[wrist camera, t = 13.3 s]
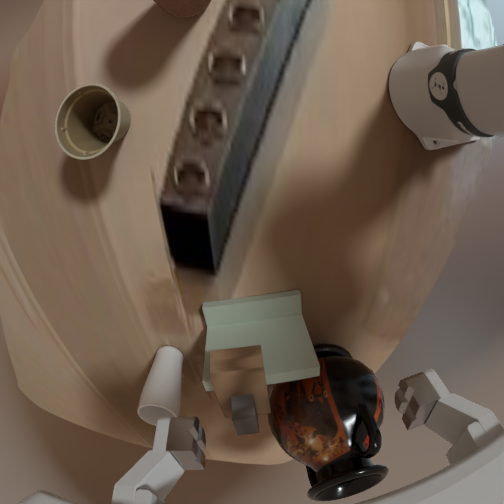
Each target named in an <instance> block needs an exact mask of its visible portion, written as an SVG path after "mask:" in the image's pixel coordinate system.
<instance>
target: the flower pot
mask: <svg viewBox="0 0 504 504" xmlns="http://www.w3.org/2000/svg"><path fill="white" fill-rule="evenodd" d="M115 105H117V108H116V107H115ZM99 112H101V115H100V117H99V119H98V120H97V117H98V114H99ZM110 120H111V121H112V122H111V123H109V121H110ZM130 122H131V117H130V112H129V110H128V108H127V107H126V106H125V105H124V104H123V103H121V102H120V101H118V99H117V97H116V96H115V94H114V93H113V92H112V91H111V90H110V89H109V88H108V87H106V86H104V85H101V84H97V83H89V84H84V85H81V86H79V87H77V88H75V89H74V90H73V91H71V92H70V93H69V94H68V95H67V96H66V97H65V99H64V100H63V102H62V103H61V105H60V107H59V109H58V112H57V115H56V120H55V134H56V139H57V142H58V144H59V146H60V147H61V149H62V150H63V151H64V152H65V153H66V154H67V155H69V156H70V157H72V158H75V159H79V160H87V159H92V158H95V157H97V156H99V155H101V154H102V153H103V152H105V151H106V150H107V149H108V148H109V147H110V146H111V144H112V143H114V142H116V141H118V140H120V139H121V138H122V137H123V136H124V135H125V134H126V133H127V131H128V129H129V126H130ZM102 135H104V136H106V137H108V139H104V138H102Z"/></svg>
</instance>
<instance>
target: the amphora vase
mask: <svg viewBox="0 0 504 504" xmlns="http://www.w3.org/2000/svg"><path fill="white" fill-rule="evenodd" d="M313 347H314V350H315V353H316V356H317V359H318V362H319V365H320V376H316V377H311V378H305V379H300V380H294V381H288V382H282V383H276V386H275V387H274V389H273V391H272V393H271V396H270V398H269V404H270V411H271V413H268V421H269V425H270V428H271V430H272V433H273V435H274V436H275V438H276V440H277V442H278V443H279V445H280V446H281V448H282V449H283V450H284V451H285V452H286V453H287V454H288V455H289V456H291V457H292V458H294V459H296V460H297V461H299V462H301V463H303V464H305V465H306V468H307V473H308V478H309V481H310V484H311V486H312V488H310V489H309V491H308V493H307V496H308V497H309V498H310V499H311V500H315V501H331V500H337V499H341V498H345V497H349V496H352V495H355V494H358V493H360V492H363V491H365V490H367V489H369V488H371V487H373V486H375V485H376V484H378V483H379V482H381V481H382V480H383V479H384V478H385V477H386V476H387V474H388V468H387V467H386V466H383V465H373V464H372V462H371V460H370V458H371V457H373V456H375V455H376V454H377V453H378V452H379V450H380V448H381V433H380V429H381V427H382V423H383V417H384V397H383V392H382V388H381V386H380V384H379V382H378V380H377V378H376V376H375V375H374V373H373V371H372V370H371V369H369V368H368V367H367V366H365V365H364V364H363V363H361V362H360V361H358V360H355V359H353V358H352V356H351V354H350V353H349V352H348V351H347V350H346V349H344V348H343V347H340V346H337V345H331V344H320V345H313Z"/></svg>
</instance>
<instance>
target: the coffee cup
mask: <svg viewBox="0 0 504 504" xmlns="http://www.w3.org/2000/svg"><path fill="white" fill-rule="evenodd" d="M153 1H155V2H156V3H157V4H158V5H159V6H160V7H161V8H162V9H163V10H164V11H166V12H167V13H169V14H171V15H173V16H176V17H182V18H183V17H191V16H194V15H197V14H199V13H201V12H202V11H204V10H205V9H206V8H207V7H208V5H209V4H210V2H211V0H153Z"/></svg>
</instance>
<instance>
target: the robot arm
mask: <svg viewBox="0 0 504 504" xmlns="http://www.w3.org/2000/svg"><path fill="white" fill-rule="evenodd" d="M389 92H390V97H391V101H392V104H393V106H394V109H395V111H396V113H397V115H398V116H399V118H400V119H401V121H402V122H403V123H404V124H405V125H406V126H407V127H408V128H409V129H410V130H411V131H412V132H414V133H415V134H416V135H417V137H418V138H419V140H420V142H421V144H422V146H423V147H424V148H425V149H426V150H435V149H439V148H444V147H448V146H452V145H457V144H461V143H466V142H470V141H475V140H479V139H480V138H481V137H492V136H494V135H495V136H500V137H504V44H503V45H499V46H495V47H491V48H486V49H481V50H474V49H457V50H456V49H453V48H449V47H448V46H447V45H436V46H427V45H425V44H423V43H421V42H414V43H412V44H411V46H410V48H409V50H408V52H407V53H406V54H405V55H404V56H402V57H401V58H399V59H398V60H397V61H396V62H395V64H394V65H393V67H392V70H391V73H390V77H389ZM434 141H435V143H434ZM399 387H400V388H399V389H398V390H397V391H396V393H395V404H396V408H397V410H398V411H399V412H400V413H402V414H403V417H402V420H403V422H404V424H405V426H406V428H407V430H410V429H413V428H416V427H418V426H421V425H423V424H424V425H425V426H427V427H428V428H429V429H431V430H432V431H434V432H435V433H437V434H438V435H440V436H441V437H443V438H444V439H446V440H447V441H449V442H450V443H452V444H453V446H452V447H451V448H450V450H449V451H448V452H447V455H446V456H447V458H448V460H449V462H450V464H451V465H449V466H447V467H446V468H444V469H442V470H440V471H438V472H436V473H434V474H432V475H429V476H427V477H425V478H423V479H421V480H419V481H417V482H414V483H412V484H410V485H407V486H405V487H402V488H400V489H398V490H395V491H392V492H389V493H387V494H384V495H381V496H378V497H375V498H372V499H369V500H366V501H363V502H360V503H356V504H504V429H503V428H502V426H501V425H500V423H499V421H498V420H497V418H496V417H495V415H494V414H493V412H492V411H491V410H489V409H486V408H484V407H482V406H480V405H477V404H475V403H473V402H471V401H469V400H467V399H464V398H462V397H460V396H458V395H456V394H454V393H452V394H450V393H449V391H448V390H447V388H446V387H445V385H444V384H443V383H442V381H441V380H440V378H439V377H438V375H437V374H436V373H435V371H434V370H433V369H429V370H426V371H424V372H420V373H418V374H415V375H412V376H410V377H407V378H404V379H402V380H400V382H399ZM205 447H206V439H205V433H204V429H203V427H202V426H200V425H199V420H198V418H197V417H159V419H158V421H157V426H156V432H155V437H154V443H153V449H152V450H149V451H148V452H147V453H146V454H145V455H144V456H143V457H142V458H141V459H140V460H139V461H138V462H137V463H136V464H135V465H134V466H133V467H132V468H131V469H130V470H129V471H128V472H127V473H126V474H125V475H124V476H123V477H122V478H121V479H120V480H119V481H118V482H117V483H116V484H115V487H114V492H113V497H112V503H111V504H167V503H165V502H164V501H163V500H164V499H165V497H166V495H168V493H169V492H170V490H171V489H172V488H173V486H174V485H175V484H176V482H177V481H178V480H179V478H180V477H181V475H182V474H183V473H184V470H204V469H205V455H204V453H203V450H204V448H205ZM18 504H81V503H78V502H75V501H72V500H69V499H66V498H63V497H60V496H57V495H55V494H52V493H49V492H47V491H43V490H38V491H36V492H34V493H32V494H31V495H30V496H28V497H26V498H25V499H23V500H22V501H21V502H19V503H18Z"/></svg>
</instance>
